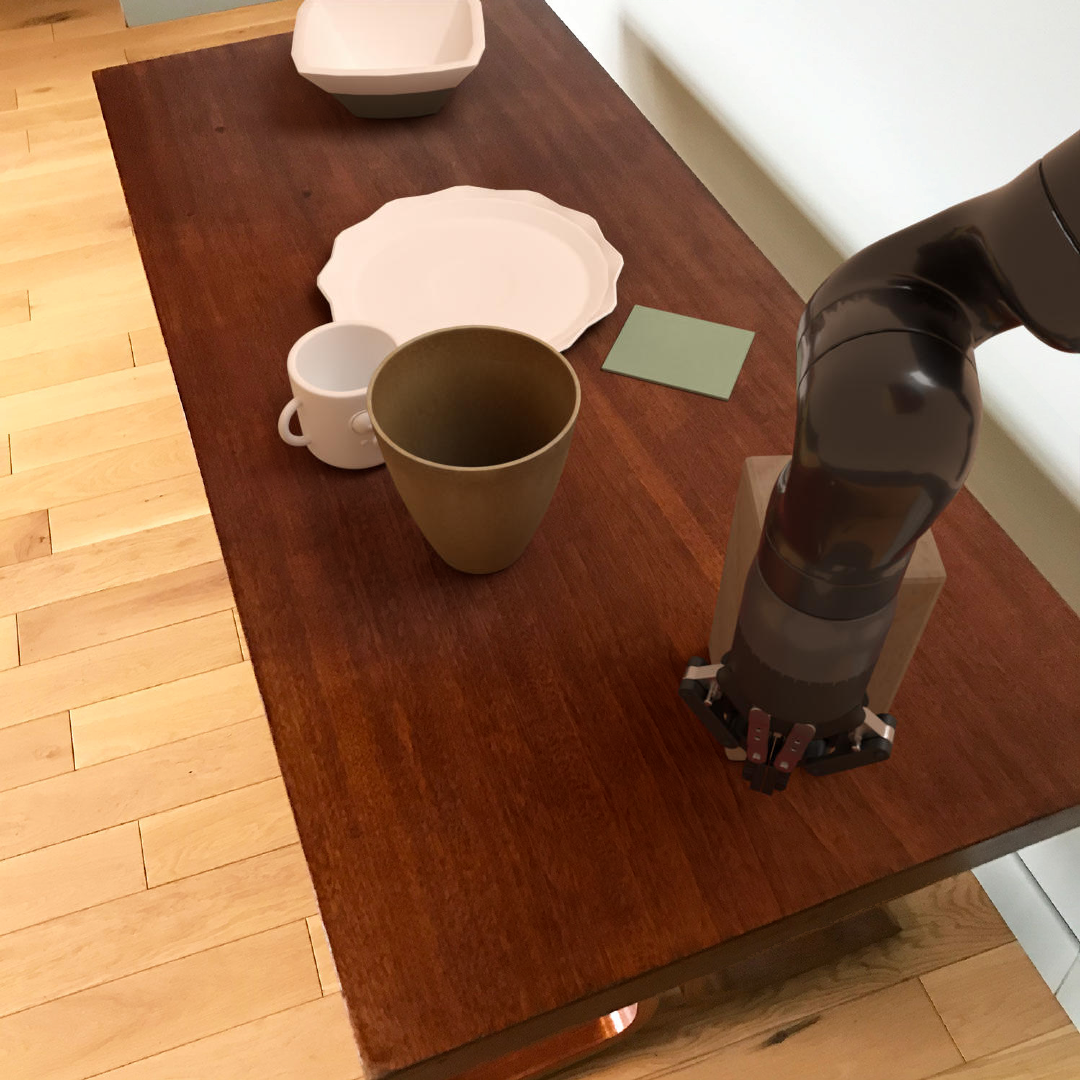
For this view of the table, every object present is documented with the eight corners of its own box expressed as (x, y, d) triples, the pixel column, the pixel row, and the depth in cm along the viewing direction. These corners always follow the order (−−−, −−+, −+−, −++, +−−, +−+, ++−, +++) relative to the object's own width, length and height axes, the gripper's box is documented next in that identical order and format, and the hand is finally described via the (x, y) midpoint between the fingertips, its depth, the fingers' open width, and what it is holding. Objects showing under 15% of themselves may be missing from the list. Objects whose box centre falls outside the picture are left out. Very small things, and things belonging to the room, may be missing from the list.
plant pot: (376, 609, 85) (348, 462, 73) (405, 470, 95) (384, 319, 83) (571, 620, 84) (575, 473, 72) (580, 478, 94) (585, 327, 82)
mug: (324, 511, 92) (306, 431, 85) (261, 443, 97) (238, 363, 90) (442, 445, 97) (434, 365, 90) (376, 384, 102) (363, 303, 95)
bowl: (482, 48, 144) (479, -20, 138) (491, 140, 129) (488, 69, 123) (311, 55, 143) (299, -13, 137) (299, 149, 128) (286, 78, 122)
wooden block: (725, 763, 76) (770, 582, 61) (706, 644, 83) (742, 453, 68) (871, 759, 76) (951, 577, 61) (840, 639, 83) (906, 448, 68)
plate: (366, 195, 122) (363, 175, 120) (633, 217, 119) (635, 197, 117) (286, 371, 103) (281, 351, 101) (602, 402, 100) (603, 382, 98)
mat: (754, 334, 106) (755, 332, 106) (727, 401, 100) (728, 398, 100) (634, 306, 109) (635, 304, 109) (601, 369, 103) (601, 367, 103)
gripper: (669, 637, 57) (647, 797, 70) (931, 715, 54) (856, 868, 67) (708, 533, 62) (680, 702, 75) (951, 600, 59) (878, 764, 72)
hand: (764, 780), depth 71 cm, fingers closed
